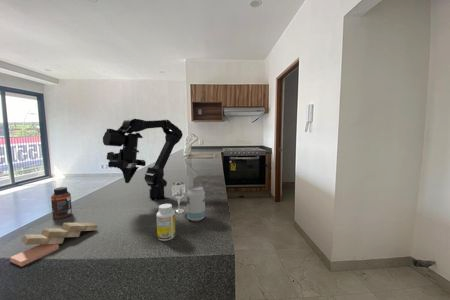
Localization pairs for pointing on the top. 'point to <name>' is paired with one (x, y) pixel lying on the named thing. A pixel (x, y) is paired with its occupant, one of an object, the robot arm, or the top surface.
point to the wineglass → (178, 193)
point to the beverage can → (196, 203)
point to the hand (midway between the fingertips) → (127, 183)
